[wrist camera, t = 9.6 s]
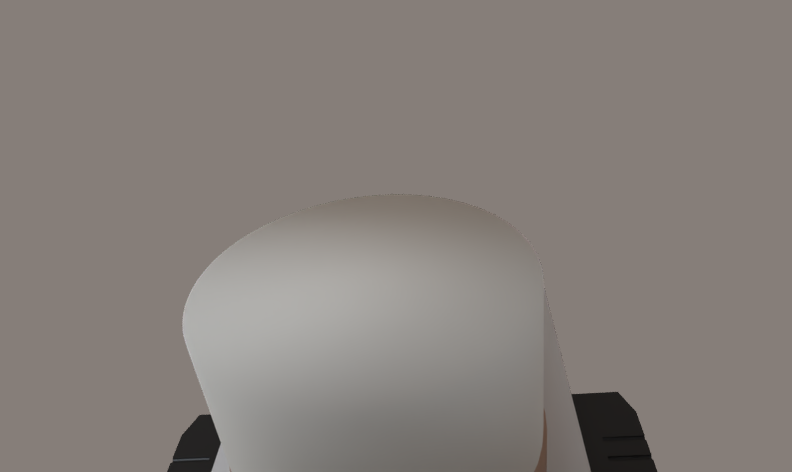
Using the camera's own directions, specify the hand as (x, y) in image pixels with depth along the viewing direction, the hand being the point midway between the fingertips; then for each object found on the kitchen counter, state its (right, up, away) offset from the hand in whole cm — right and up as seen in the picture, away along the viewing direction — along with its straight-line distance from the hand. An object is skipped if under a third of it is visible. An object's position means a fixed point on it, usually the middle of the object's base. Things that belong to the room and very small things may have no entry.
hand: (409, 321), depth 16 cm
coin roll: (+1, -10, 0) cm, 10 cm away
